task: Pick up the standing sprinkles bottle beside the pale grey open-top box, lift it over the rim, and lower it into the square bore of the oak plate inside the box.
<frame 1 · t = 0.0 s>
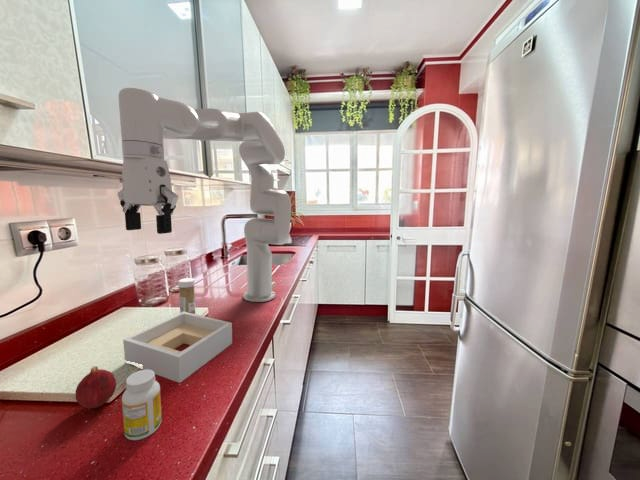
hand: (148, 231, 60), 31 cm above the table, tool pointing down, fingers open, 9 cm apart
open box: (182, 352, 67), on the table
sprinkles bottle: (188, 320, 84), on the table
onion: (98, 407, 49), on the table
supplement bottle: (144, 428, 45), on the table
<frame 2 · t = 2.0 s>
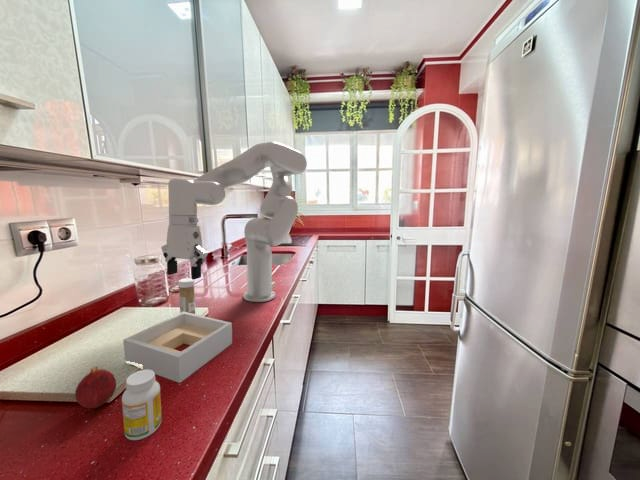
hand: (184, 276, 82), 15 cm above the table, tool pointing down, fingers open, 9 cm apart
nothing on the table moved.
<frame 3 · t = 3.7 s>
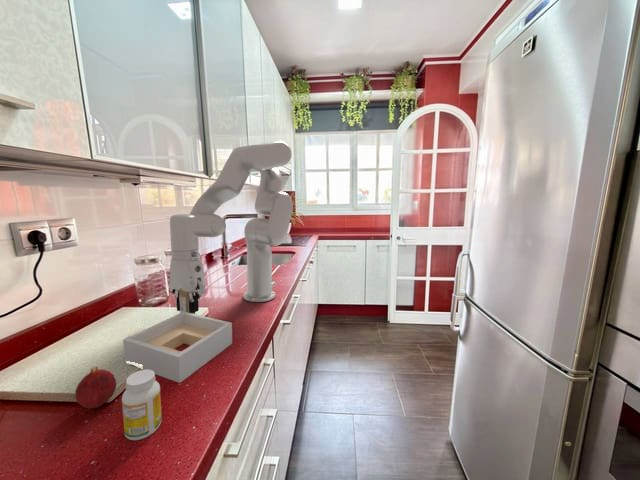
hand: (187, 310, 84), 3 cm above the table, tool pointing down, fingers closed on sprinkles bottle, 4 cm apart
sprinkles bottle: (188, 320, 84), on the table, touching gripper
everything else where it was.
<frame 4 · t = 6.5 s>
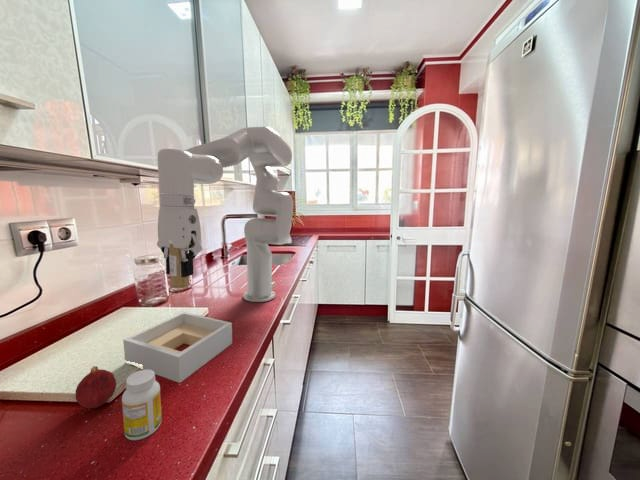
hand: (179, 273, 67), 20 cm above the table, tool pointing down, fingers closed on sprinkles bottle, 4 cm apart
sprinkles bottle: (180, 287, 68), point 16 cm above the table, touching gripper
everything else where it was.
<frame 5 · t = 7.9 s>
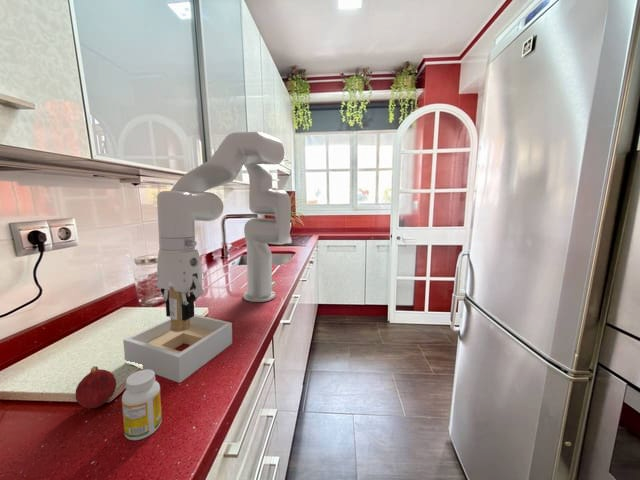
hand: (180, 315, 65), 10 cm above the table, tool pointing down, fingers closed on sprinkles bottle, 4 cm apart
sprinkles bottle: (180, 329, 66), point 7 cm above the table, touching gripper
everything else where it was.
when the fingers open (5 cm above the table, at t = 9.3 s): sprinkles bottle drops 1 cm, resting in open box.
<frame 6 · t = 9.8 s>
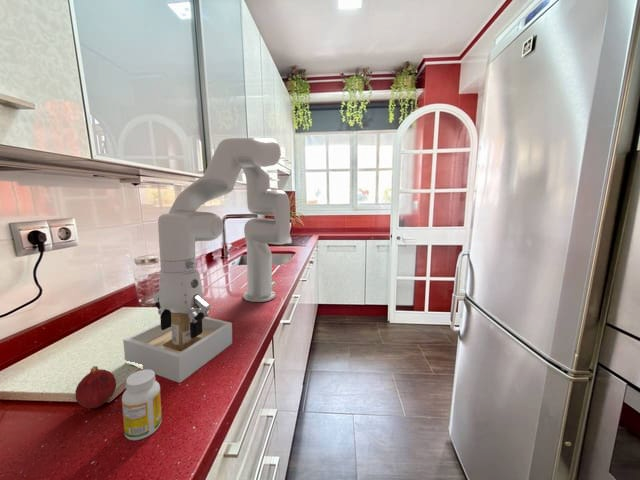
hand: (181, 331, 66), 6 cm above the table, tool pointing down, fingers open, 9 cm apart
sprinkles bottle: (182, 352, 67), resting in open box
everything else where it was.
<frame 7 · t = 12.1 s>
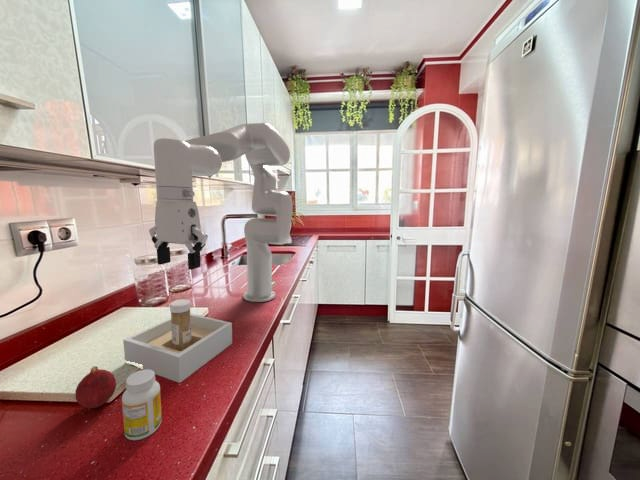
hand: (179, 265, 65), 22 cm above the table, tool pointing down, fingers open, 9 cm apart
nothing on the table moved.
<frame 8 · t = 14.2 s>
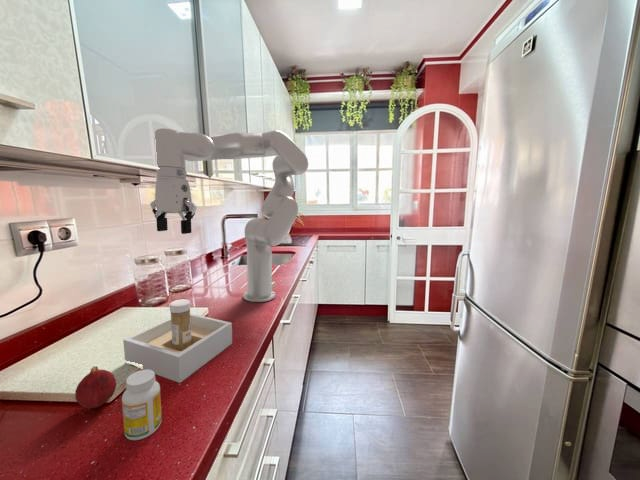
hand: (174, 232, 80), 28 cm above the table, tool pointing down, fingers open, 9 cm apart
nothing on the table moved.
at the end: sprinkles bottle 0.4 cm off-centre on the open box, point 0.0 cm above the open box's base; sprinkles bottle tilted 0°; the gripper is holding nothing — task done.
